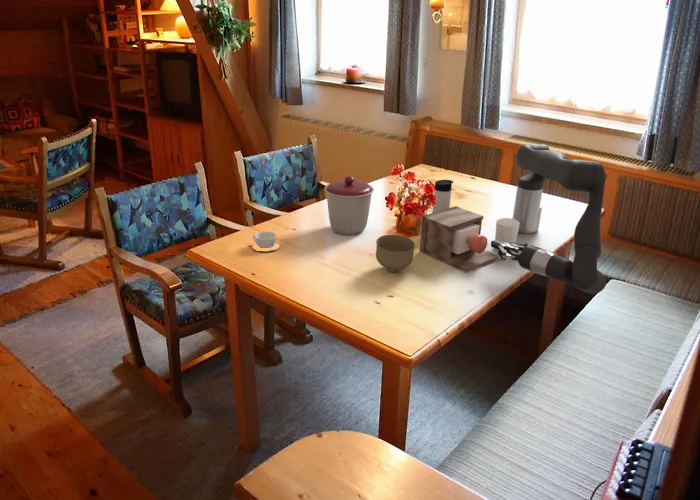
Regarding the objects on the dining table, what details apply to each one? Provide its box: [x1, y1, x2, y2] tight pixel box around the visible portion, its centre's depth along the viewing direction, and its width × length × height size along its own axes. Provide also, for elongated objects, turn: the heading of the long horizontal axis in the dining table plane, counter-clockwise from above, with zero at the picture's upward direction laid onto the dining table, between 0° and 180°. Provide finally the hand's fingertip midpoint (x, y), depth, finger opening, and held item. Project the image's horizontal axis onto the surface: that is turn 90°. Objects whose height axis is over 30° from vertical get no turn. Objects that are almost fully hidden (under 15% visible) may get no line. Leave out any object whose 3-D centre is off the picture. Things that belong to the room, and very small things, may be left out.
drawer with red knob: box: [452, 223, 488, 254], centre depth 196 cm, size 12×10×8 cm
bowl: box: [375, 234, 416, 273], centre depth 187 cm, size 13×13×10 cm
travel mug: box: [431, 179, 454, 213], centre depth 217 cm, size 6×7×20 cm
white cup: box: [494, 217, 520, 243], centre depth 205 cm, size 8×8×10 cm
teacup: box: [252, 231, 277, 248], centre depth 203 cm, size 10×10×5 cm
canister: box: [324, 175, 375, 235], centre depth 216 cm, size 18×18×21 cm
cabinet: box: [419, 206, 500, 273], centre depth 198 cm, size 21×17×13 cm
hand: (492, 243), depth 187 cm, fingers closed
